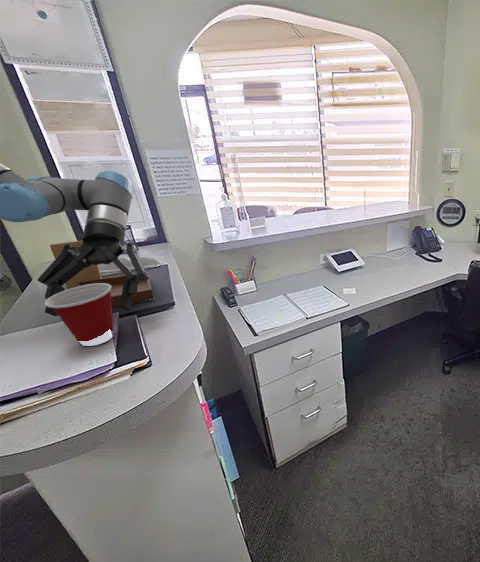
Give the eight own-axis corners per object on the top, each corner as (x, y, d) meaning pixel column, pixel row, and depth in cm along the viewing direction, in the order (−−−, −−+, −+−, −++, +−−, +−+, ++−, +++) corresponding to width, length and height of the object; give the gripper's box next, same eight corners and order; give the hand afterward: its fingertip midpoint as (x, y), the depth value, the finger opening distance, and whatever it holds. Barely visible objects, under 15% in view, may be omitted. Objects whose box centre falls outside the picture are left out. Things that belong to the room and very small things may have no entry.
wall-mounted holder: (156, 255, 112) (85, 262, 104) (159, 267, 114) (90, 274, 105) (158, 251, 118) (91, 257, 109) (161, 262, 119) (95, 269, 110)
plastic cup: (63, 339, 70) (43, 290, 65) (123, 323, 77) (109, 278, 72) (63, 361, 63) (41, 308, 58) (129, 342, 69) (114, 293, 65)
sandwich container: (101, 271, 108) (87, 228, 102) (104, 285, 97) (89, 239, 91) (67, 276, 102) (50, 232, 96) (67, 292, 92) (49, 244, 86)
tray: (72, 315, 80) (67, 304, 78) (79, 292, 93) (76, 282, 91) (154, 299, 89) (151, 289, 88) (150, 280, 102) (148, 271, 101)
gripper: (169, 235, 82) (160, 311, 74) (55, 238, 76) (33, 321, 68) (156, 219, 75) (145, 301, 67) (30, 221, 69) (2, 311, 61)
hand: (89, 311), depth 68 cm, fingers open, 13 cm apart
